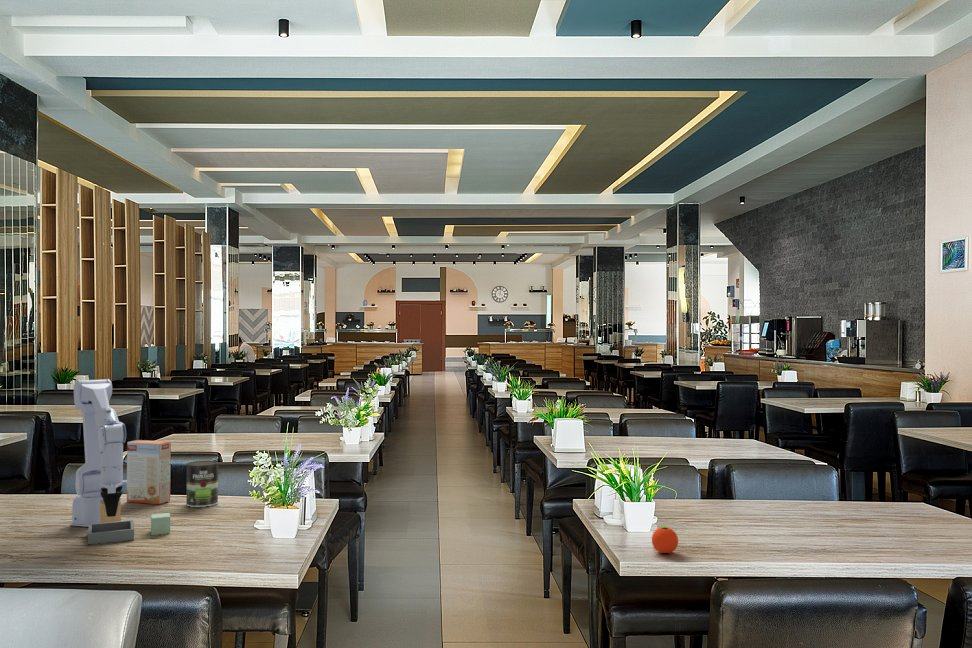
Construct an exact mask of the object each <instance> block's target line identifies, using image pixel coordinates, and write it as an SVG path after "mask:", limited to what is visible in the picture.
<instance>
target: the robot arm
mask: <svg viewBox="0 0 972 648" xmlns="http://www.w3.org/2000/svg"><path fill="white" fill-rule="evenodd" d="M112 395H113V383H112V381H111V379H110V378H105V379H83V380H81V379H77V380H76V381H75V382H74V384H73V403H74V405H75V406H74V407H75V408H76V409H78V410H80V411H81V412H80V413H81V417H82V427H83V428H82V429H83V430H82V431H83V442H84V443H83V444H84V460H85V461H84V462H85V463H84V464H82V465H81V466H80V467H79V468H78V469H77V470H76V472H75V479H74V480H75V481H74V482H75V483H74V487H75V492H76V494H77V495H76V496H75V497H74V499H73V500H72V503H71V505H72V507H71V509H72V510H71V512H72V514H71V516H72V517H71V518H72V519H71V523H69V526H75V527H86V528H89V524H98V523H100V500H104V503H105V508H106V513H107V517H112V516H116V513H117V507H118V503H119V499H120V498H121V497H122V495H123V492H124V491H122V490H123V485H125V484H126V485H127V479H124V444H125V443H126V441H127V440H126V439H127V429H126V425H125V423H123V422H122V421H120V420H119V417H118V415H117V412H116V410H115V409H114V408H112V407H111V406H110V399H111V397H112ZM107 523H108V522H107Z"/></svg>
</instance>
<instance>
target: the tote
mask: <svg viewBox="0 0 972 648" xmlns="http://www.w3.org/2000/svg"><path fill="white" fill-rule="evenodd" d="M128 540H129V541H134V540H135V525H134V519H129V520H121V521H117V522H108V523H98V524H89V527H88V530H87V545H88V544H92V545H99V544H98V543H101V544H108V543H107V542H110V543H119V542H128Z"/></svg>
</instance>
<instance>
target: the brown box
mask: <svg viewBox="0 0 972 648" xmlns="http://www.w3.org/2000/svg"><path fill="white" fill-rule="evenodd" d="M121 499H122V498H121V497H120V499H119V503H118V507H117V513H116V516H112V517H107V513H106V508H105V503H104V500H100V523H107V522H119V521H122V515H121V512H122V511H121V510H122V505H121V503H122V502H121V501H122V500H121Z"/></svg>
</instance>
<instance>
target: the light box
mask: <svg viewBox="0 0 972 648" xmlns="http://www.w3.org/2000/svg"><path fill="white" fill-rule="evenodd" d="M167 533H170V534H171V513H170V512H165V513H163V512H162V513H154V514H150V534H151V536H158V535H159V534H161V535H167ZM159 536H160V535H159Z"/></svg>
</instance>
